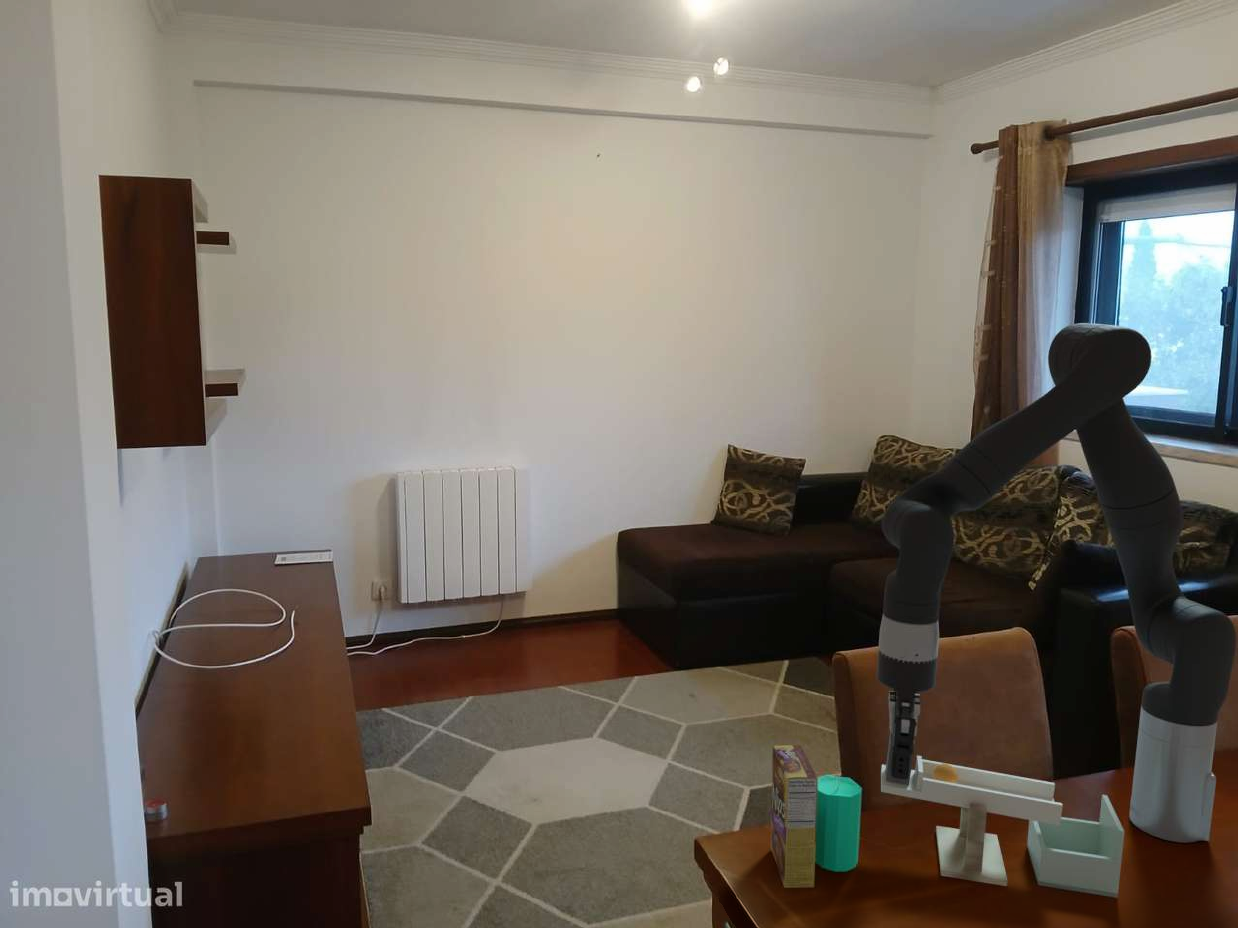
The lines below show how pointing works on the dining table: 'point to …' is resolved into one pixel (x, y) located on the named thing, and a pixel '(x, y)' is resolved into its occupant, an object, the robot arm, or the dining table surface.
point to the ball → (945, 773)
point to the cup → (1079, 853)
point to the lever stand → (971, 849)
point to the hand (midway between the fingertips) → (899, 769)
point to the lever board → (976, 790)
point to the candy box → (794, 816)
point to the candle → (837, 823)
